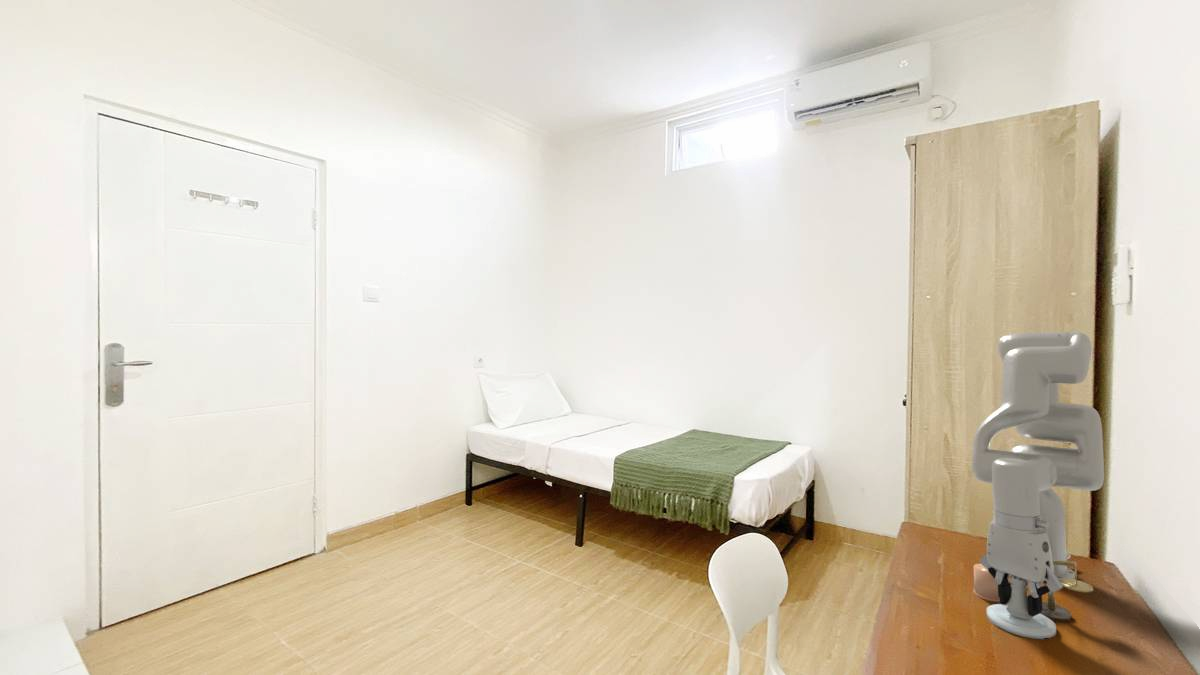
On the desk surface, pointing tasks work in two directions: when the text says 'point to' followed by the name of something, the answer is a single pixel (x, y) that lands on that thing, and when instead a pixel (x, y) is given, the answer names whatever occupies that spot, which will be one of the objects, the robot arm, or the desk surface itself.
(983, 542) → the desk surface
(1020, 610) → the rook chess piece
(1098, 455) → the robot arm
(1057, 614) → the balance
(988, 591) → the peach dome knob
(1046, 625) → the dish
